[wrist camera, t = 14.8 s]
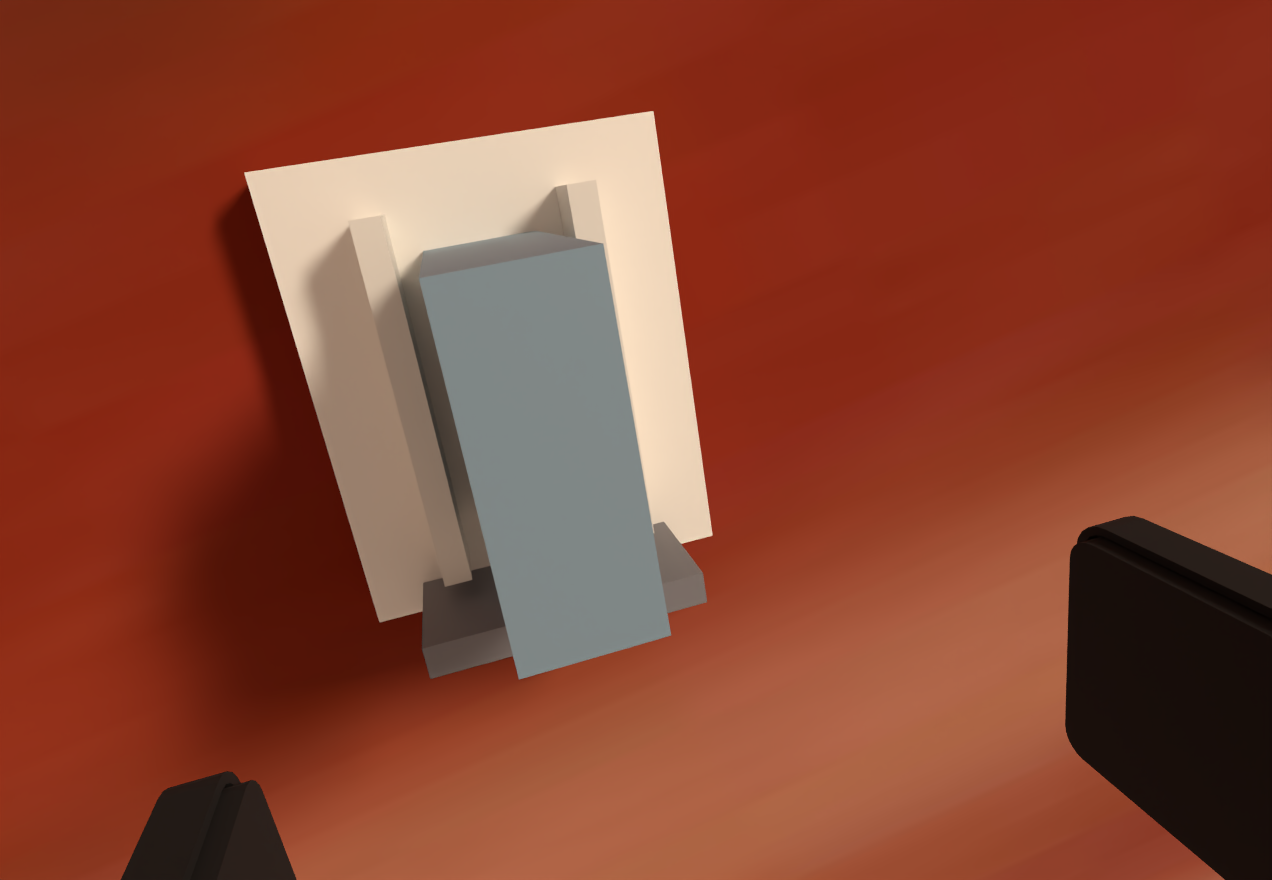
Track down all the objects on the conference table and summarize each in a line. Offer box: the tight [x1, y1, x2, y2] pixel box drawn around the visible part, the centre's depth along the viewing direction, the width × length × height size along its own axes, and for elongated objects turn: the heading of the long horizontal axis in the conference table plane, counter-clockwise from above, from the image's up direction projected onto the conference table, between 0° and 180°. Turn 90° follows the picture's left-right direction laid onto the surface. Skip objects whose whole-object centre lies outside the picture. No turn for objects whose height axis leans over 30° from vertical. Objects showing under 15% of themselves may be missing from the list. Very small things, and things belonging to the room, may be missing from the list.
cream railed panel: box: [244, 111, 712, 679], centre depth 28 cm, size 17×14×7 cm
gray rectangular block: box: [419, 231, 671, 679], centre depth 24 cm, size 10×4×12 cm, turn 10°
